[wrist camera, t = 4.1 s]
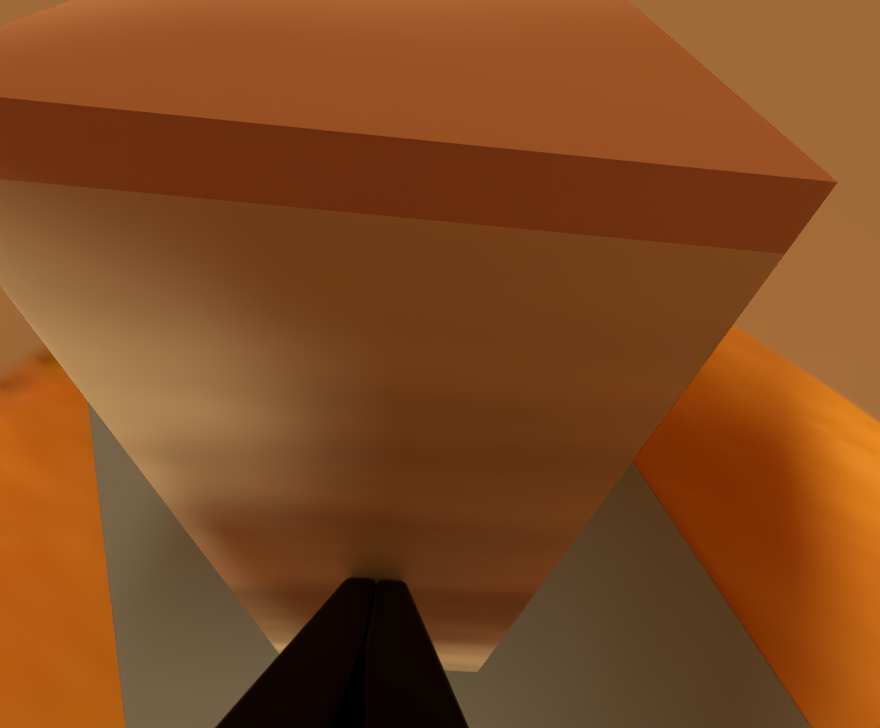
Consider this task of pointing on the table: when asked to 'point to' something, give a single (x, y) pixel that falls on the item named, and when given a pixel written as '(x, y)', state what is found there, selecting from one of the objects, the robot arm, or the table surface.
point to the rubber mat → (506, 669)
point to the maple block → (383, 272)
